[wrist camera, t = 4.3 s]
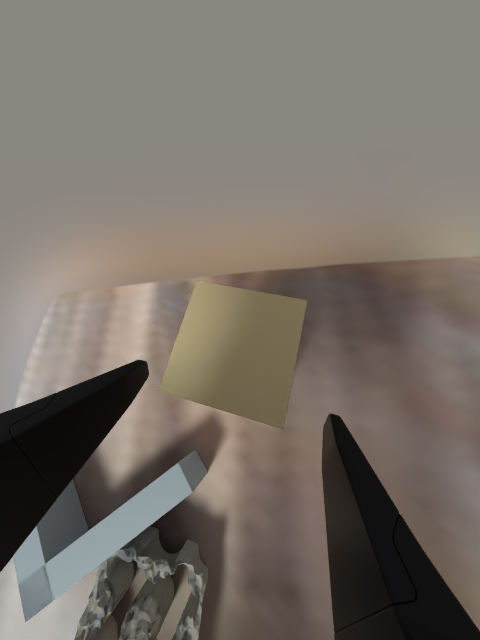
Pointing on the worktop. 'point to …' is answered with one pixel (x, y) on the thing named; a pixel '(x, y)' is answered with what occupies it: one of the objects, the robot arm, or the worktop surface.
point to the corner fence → (93, 534)
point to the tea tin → (237, 352)
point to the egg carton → (144, 591)
